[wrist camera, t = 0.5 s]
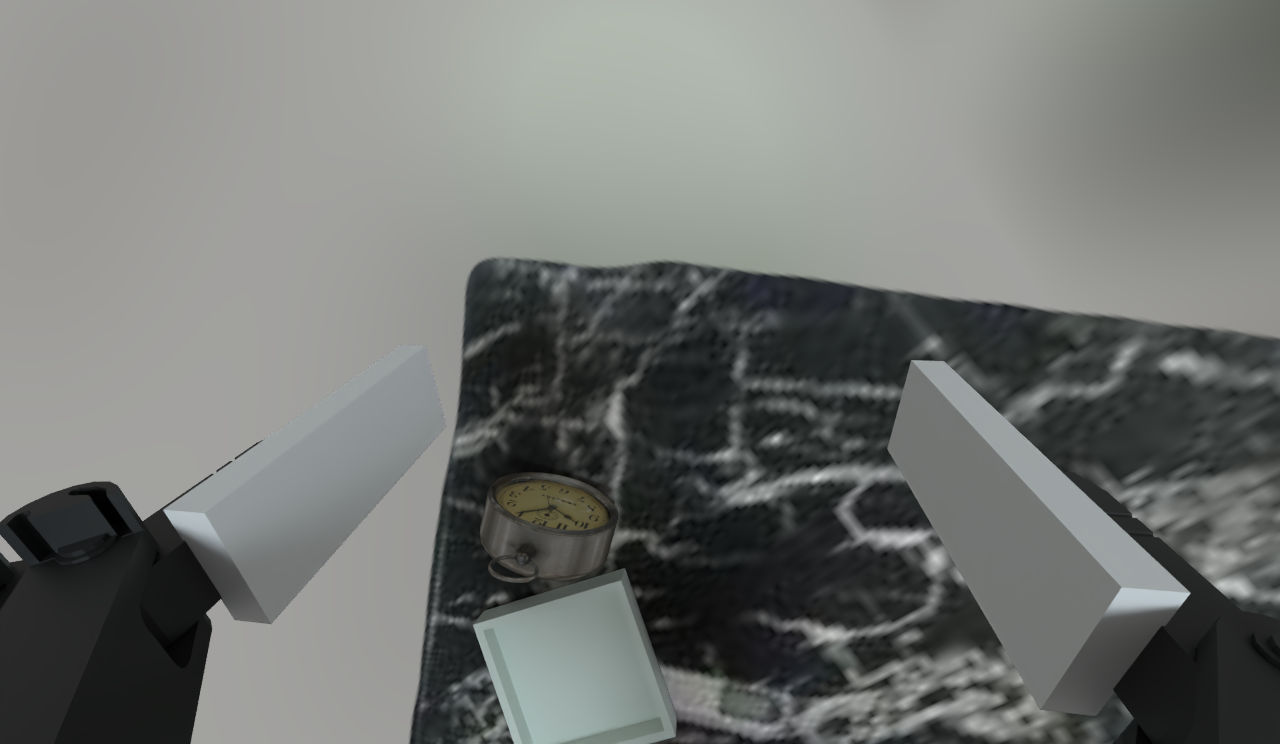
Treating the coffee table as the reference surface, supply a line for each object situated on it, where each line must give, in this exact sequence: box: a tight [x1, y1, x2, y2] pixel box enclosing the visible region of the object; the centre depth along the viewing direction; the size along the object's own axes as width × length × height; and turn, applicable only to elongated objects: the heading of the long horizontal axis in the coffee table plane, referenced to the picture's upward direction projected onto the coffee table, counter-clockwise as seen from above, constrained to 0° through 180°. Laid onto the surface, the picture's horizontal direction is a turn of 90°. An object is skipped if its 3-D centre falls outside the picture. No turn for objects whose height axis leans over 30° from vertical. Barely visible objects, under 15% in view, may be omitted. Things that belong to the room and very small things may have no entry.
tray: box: [473, 568, 677, 744], centre depth 44 cm, size 15×15×2 cm
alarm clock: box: [480, 472, 618, 583], centre depth 37 cm, size 11×5×16 cm, turn 74°
